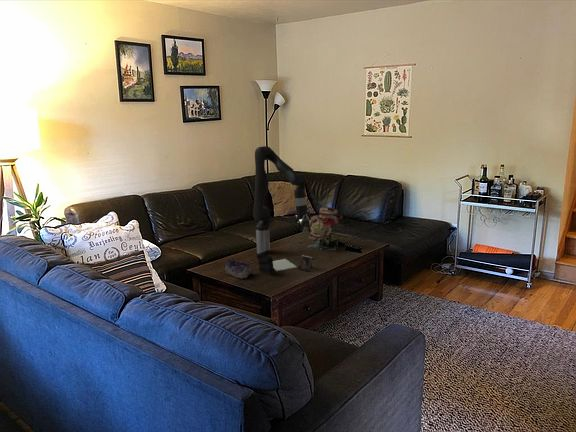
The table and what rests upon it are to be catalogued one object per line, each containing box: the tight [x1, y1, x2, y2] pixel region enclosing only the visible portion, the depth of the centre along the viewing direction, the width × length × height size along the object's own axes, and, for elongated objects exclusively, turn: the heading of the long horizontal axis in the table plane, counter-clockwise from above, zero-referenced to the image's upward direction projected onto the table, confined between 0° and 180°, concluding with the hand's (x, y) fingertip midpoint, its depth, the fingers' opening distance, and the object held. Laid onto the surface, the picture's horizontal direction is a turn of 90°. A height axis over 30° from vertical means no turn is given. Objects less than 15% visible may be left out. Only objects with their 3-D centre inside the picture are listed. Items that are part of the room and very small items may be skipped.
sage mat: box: [273, 258, 298, 272], centre depth 303 cm, size 18×14×1 cm
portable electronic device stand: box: [296, 254, 315, 273], centre depth 294 cm, size 9×8×8 cm
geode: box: [225, 257, 253, 280], centre depth 288 cm, size 20×12×10 cm, turn 53°
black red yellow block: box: [256, 249, 276, 276], centre depth 289 cm, size 4×13×15 cm, turn 41°
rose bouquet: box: [306, 206, 347, 252], centre depth 337 cm, size 26×29×30 cm
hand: (304, 228), depth 304 cm, fingers open, 8 cm apart
